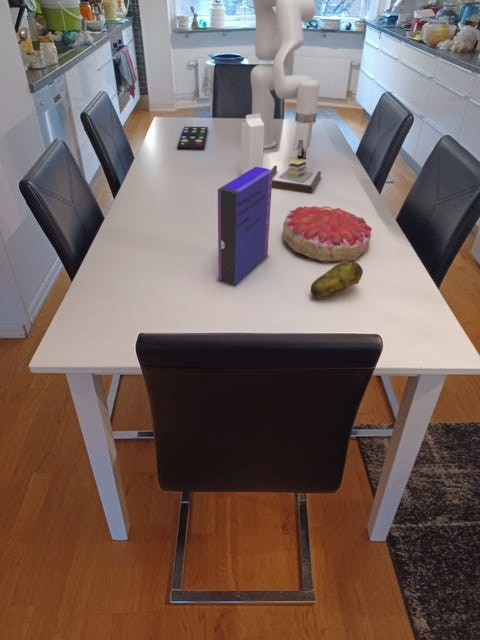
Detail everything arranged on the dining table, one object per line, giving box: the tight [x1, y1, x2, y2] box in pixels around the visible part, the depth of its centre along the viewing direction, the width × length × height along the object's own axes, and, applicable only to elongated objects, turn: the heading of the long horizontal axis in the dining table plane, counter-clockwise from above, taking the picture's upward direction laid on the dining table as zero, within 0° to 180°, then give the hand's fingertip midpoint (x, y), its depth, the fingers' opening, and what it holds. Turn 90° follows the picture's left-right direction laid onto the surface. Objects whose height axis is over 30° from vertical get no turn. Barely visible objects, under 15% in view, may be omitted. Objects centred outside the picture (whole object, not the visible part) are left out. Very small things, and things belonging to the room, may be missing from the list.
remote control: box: [177, 126, 209, 151], centre depth 210 cm, size 11×30×2 cm, turn 0°
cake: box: [281, 205, 373, 262], centre depth 132 cm, size 25×25×8 cm
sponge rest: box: [270, 165, 322, 194], centre depth 170 cm, size 16×18×2 cm
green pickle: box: [310, 260, 364, 299], centre depth 111 cm, size 8×13×8 cm, turn 96°
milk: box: [240, 113, 264, 176], centre depth 168 cm, size 6×6×22 cm
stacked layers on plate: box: [280, 157, 312, 183], centre depth 175 cm, size 10×9×6 cm
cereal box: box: [217, 167, 273, 286], centre depth 115 cm, size 17×5×24 cm, turn 150°
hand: (300, 167), depth 180 cm, fingers closed
